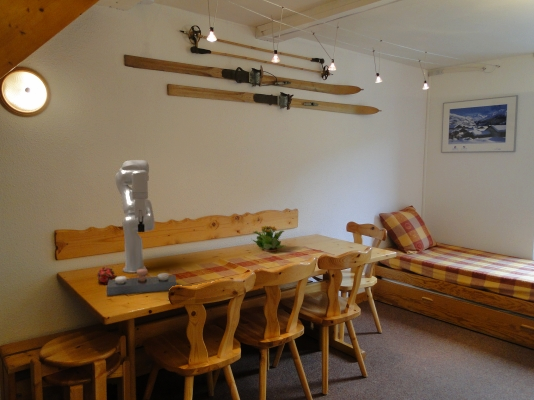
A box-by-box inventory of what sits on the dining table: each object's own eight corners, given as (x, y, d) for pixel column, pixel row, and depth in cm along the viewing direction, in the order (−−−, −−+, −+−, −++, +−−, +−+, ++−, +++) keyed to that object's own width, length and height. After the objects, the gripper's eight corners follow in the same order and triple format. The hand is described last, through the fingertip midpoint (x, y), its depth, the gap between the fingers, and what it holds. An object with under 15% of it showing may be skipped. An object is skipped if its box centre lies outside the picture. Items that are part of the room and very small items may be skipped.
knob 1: (116, 288, 202) (115, 276, 202) (126, 287, 204) (126, 275, 203) (115, 291, 197) (114, 279, 197) (126, 290, 199) (125, 278, 198)
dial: (137, 280, 205) (136, 269, 204) (147, 280, 206) (147, 268, 205) (137, 283, 200) (136, 271, 199) (147, 283, 201) (147, 271, 201)
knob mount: (109, 287, 205) (108, 280, 204) (175, 282, 213) (174, 275, 213) (106, 295, 193) (106, 287, 193) (176, 289, 202) (176, 281, 201)
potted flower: (295, 250, 285) (295, 225, 283) (272, 256, 268) (272, 230, 266) (269, 245, 303) (269, 221, 301) (245, 250, 285) (245, 225, 284)
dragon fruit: (103, 281, 219) (112, 290, 211) (90, 275, 214) (98, 284, 205) (112, 268, 221) (122, 276, 213) (100, 261, 216) (108, 269, 207)
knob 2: (158, 285, 208) (157, 273, 207) (168, 284, 209) (168, 272, 208) (158, 288, 203) (158, 276, 202) (168, 287, 204) (168, 275, 204)
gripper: (132, 194, 212) (134, 229, 214) (131, 197, 198) (132, 235, 200) (148, 194, 214) (149, 229, 216) (148, 197, 200) (149, 234, 202)
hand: (141, 231), depth 208 cm, fingers closed
